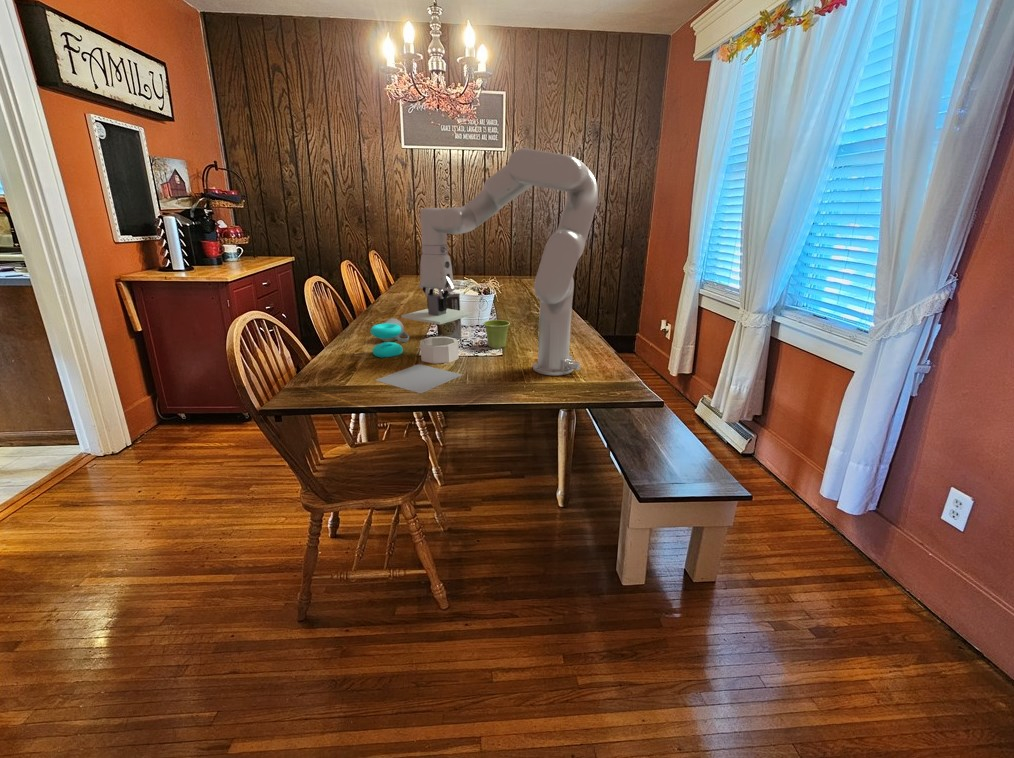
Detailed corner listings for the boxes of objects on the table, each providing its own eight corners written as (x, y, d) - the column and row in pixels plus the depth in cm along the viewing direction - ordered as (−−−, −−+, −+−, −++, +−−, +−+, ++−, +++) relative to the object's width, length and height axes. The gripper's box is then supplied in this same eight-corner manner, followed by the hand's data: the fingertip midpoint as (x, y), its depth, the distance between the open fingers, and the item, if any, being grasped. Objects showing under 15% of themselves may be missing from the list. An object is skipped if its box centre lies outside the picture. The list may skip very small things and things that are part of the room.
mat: (463, 376, 142) (462, 374, 142) (421, 395, 128) (420, 393, 128) (418, 365, 152) (418, 363, 152) (374, 382, 138) (374, 380, 138)
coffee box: (461, 334, 189) (460, 293, 183) (461, 338, 183) (459, 296, 177) (438, 334, 188) (436, 293, 183) (437, 338, 182) (435, 296, 176)
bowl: (465, 357, 160) (464, 340, 158) (441, 367, 150) (440, 348, 148) (438, 351, 166) (437, 334, 164) (413, 360, 157) (412, 342, 155)
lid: (472, 315, 155) (472, 294, 153) (439, 324, 143) (438, 302, 141) (435, 309, 164) (434, 289, 161) (401, 317, 151) (400, 296, 149)
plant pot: (507, 350, 168) (507, 326, 165) (481, 349, 169) (481, 325, 166) (511, 343, 176) (511, 320, 173) (486, 342, 178) (486, 319, 175)
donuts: (374, 322, 164) (403, 322, 164) (377, 350, 168) (405, 350, 168) (366, 329, 155) (397, 329, 155) (369, 358, 158) (399, 359, 158)
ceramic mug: (377, 342, 176) (375, 322, 174) (386, 337, 184) (384, 317, 181) (404, 344, 175) (403, 324, 172) (412, 338, 182) (411, 319, 180)
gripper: (463, 251, 145) (465, 311, 151) (422, 248, 154) (425, 304, 160) (447, 253, 139) (449, 315, 145) (406, 250, 148) (409, 308, 154)
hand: (437, 309), depth 153 cm, fingers closed on lid, 4 cm apart
